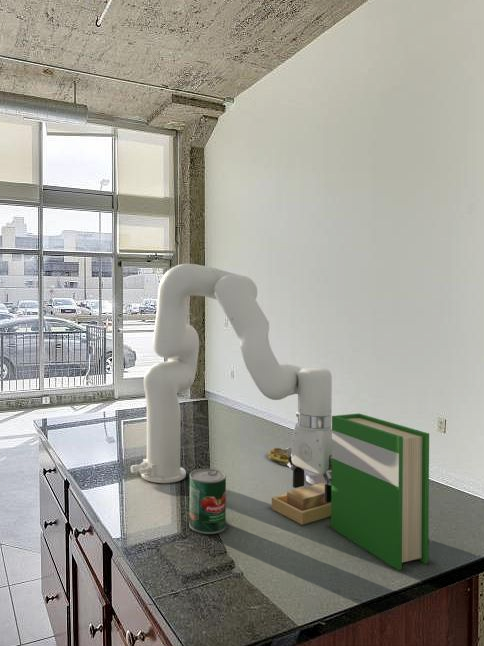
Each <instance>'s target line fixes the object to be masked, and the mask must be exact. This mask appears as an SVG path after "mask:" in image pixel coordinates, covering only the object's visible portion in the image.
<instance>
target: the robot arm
mask: <svg viewBox="0 0 484 646" xmlns="http://www.w3.org/2000/svg"><path fill="white" fill-rule="evenodd" d="M190 296H194V297H205V298H209V299H213V300H217V302H218V304H219V306H220V307H221V309H222V311H223V312H224V314H225V316H226V318H227V319H228V321H229V323H230V325H231V326H232V329H233V331H234V332H235V334H236V336H237V338H238V340H239V341H238V342H239V347H240V351H241V355H242V359H243V362H244V365H245V367H246V369H247V371H248V373H249V375H250V377H251V378H252V380H253V382H254V384H255V386H256V387H257V388H258V390H259V392H261V394H262V395H263V396H264V397H266V398H267V399H269V400H274V401H280V400H283V399H286V398H287V397H289V396H293V395H297V411H296V413H295V415H296V416H295V417H296V418H297V423H295V424H294V429H293V433H292V440H291V441H292V442H291V447H287V448H286V449H285V450H286V453H287V456H288V461H289V463H290V465H291V468H290V470H292V487H293V488H294V489H297V488H298V489H299V488H303V487H305V476H304V469H305V470H307V471H310V472H312V473H315V474H318V475H323V476H324V478H325V480H326V482H327V484H325V502H327V503H328V502H331V478H330V476H329V474H330V475H331V477H332V403H333V401H332V396H333V395H332V391H333V390H332V389H333V387H332V386H333V383H332V381H333V379H332V373H331V371H330V370H329V369H327V368H322V367H303V366H298V365H293V364H288V363H284V364H280V363H279V361H278V359H277V358H276V356H275V354H274V352H273V350H272V347H271V344H270V339H269V332H270V322H269V320H268V318H267V317H266V315H265V313H264V311H263V309H262V308H261V306H260V305H259V303H258V301H257V297H258V287H257V285H256V283H255V282H254V280H253V279H252V278H250V277H249V276H247V275H241V274H238V273H233V272H230V271H227V270H223V269H219V268H216V267H212V266H207V265H201V264H195V263H181V264H177V265H174V266H173V267H170V268H169V269H168V270H167V271H166V272H165V273H164V274H163V276H162V277H161V278H160V282H159V285H158V291H157V308H156V313H155V321H154V329H153V337H152V348H153V351H154V353H155V354H156V355H157V356H158V357H160V358H162V359H163V358H164V359H167V360H166V361H161V362H157V363H154V364H153V365H151V366H150V367H148V368H147V370H146V371H145V373H144V376H143V389H144V396H145V403H146V458H143V459H142V462H141V463H139V464H134V465H130V467H129V468H130V469H129V470H130V473H132V474H134V473H139V475H140V476H141V478H142V479H143V480H145V481H148V482H151V483H155V484H171V483H177V482H180V481H182V480H184V479H185V478H186V477H187V470H186V469H185V468H184V467H182V466H181V452H182V451H181V449H182V448H181V443H182V441H181V439H182V438H181V437H182V436H181V434H182V433H181V431H182V429H181V428H182V426H181V425H182V424H181V423H182V414H181V413H182V411H181V404H180V401H179V398H178V394H180V393H183V392H185V391H187V390H189V389H190V388H191V387H192V386H193V384H194V382H195V379H196V374H197V366H198V358H199V350H200V338H199V334H198V331H197V330H196V329H195V328H194V327H193V326H192V325H191V324H189V323H187V320H188V319H187V318H188V302H187V298H188V297H190Z"/></svg>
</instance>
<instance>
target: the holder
mask: <svg viewBox="0 0 484 646" xmlns="http://www.w3.org/2000/svg"><path fill="white" fill-rule="evenodd" d="M271 509H272V510H273V511H275V512H277V513H279V514H281V515H283V516H285V517H286V518H288V519H290V520H292V521H295V522H296V523H298V524H300V525H306V524H310V523H313V522H316V521H319V520H324V519H326V518H329V517H331V503H328V504H325V505H321V506H318V507H314V508H311V509H307V510H304V511H301V510H299V509H297V508H295V507H293V506H291V505H289V504H287V493H285V494H281V495H277V496H273V497H271Z"/></svg>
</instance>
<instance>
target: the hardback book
mask: <svg viewBox="0 0 484 646" xmlns="http://www.w3.org/2000/svg"><path fill="white" fill-rule="evenodd" d="M331 429H332V477H331V516H330V517H331V518H330V528H331V529H333V530H334V531H336V532H337V533H339V534H340V535H342V536H344V537H345V538H347V539H349V541H351V542H354V543H355V544H357V545H358V546H359V547H361V548H363V549H364V550H365V551H368V552H369V553H370V554H372V555H374V556H376V557H377V558H378V559H380V560H381V561H383V562H384V563H386V564H388V565H389V566H391V567H393V568H394V569H396V570H402V569H403V563H406V562H410V561H415V560H418V561H420V562H422V563H423V564H427V563H429V532H430V531H429V526H430V525H429V524H430V523H429V522H430V521H429V519H430V517H429V515H430V511H429V510H430V508H429V507H430V433H428V432H426V431H422V430H418V429H415V428H413V427H412V428H411V427H408V426H405V425H401V424H397V423H394V422H390V421H388V420H383V419H380V418H377V417H373V416H370V415H366V414H362V413H359V412H358V413H350V414H339V415H338V414H337V415H331Z"/></svg>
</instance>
